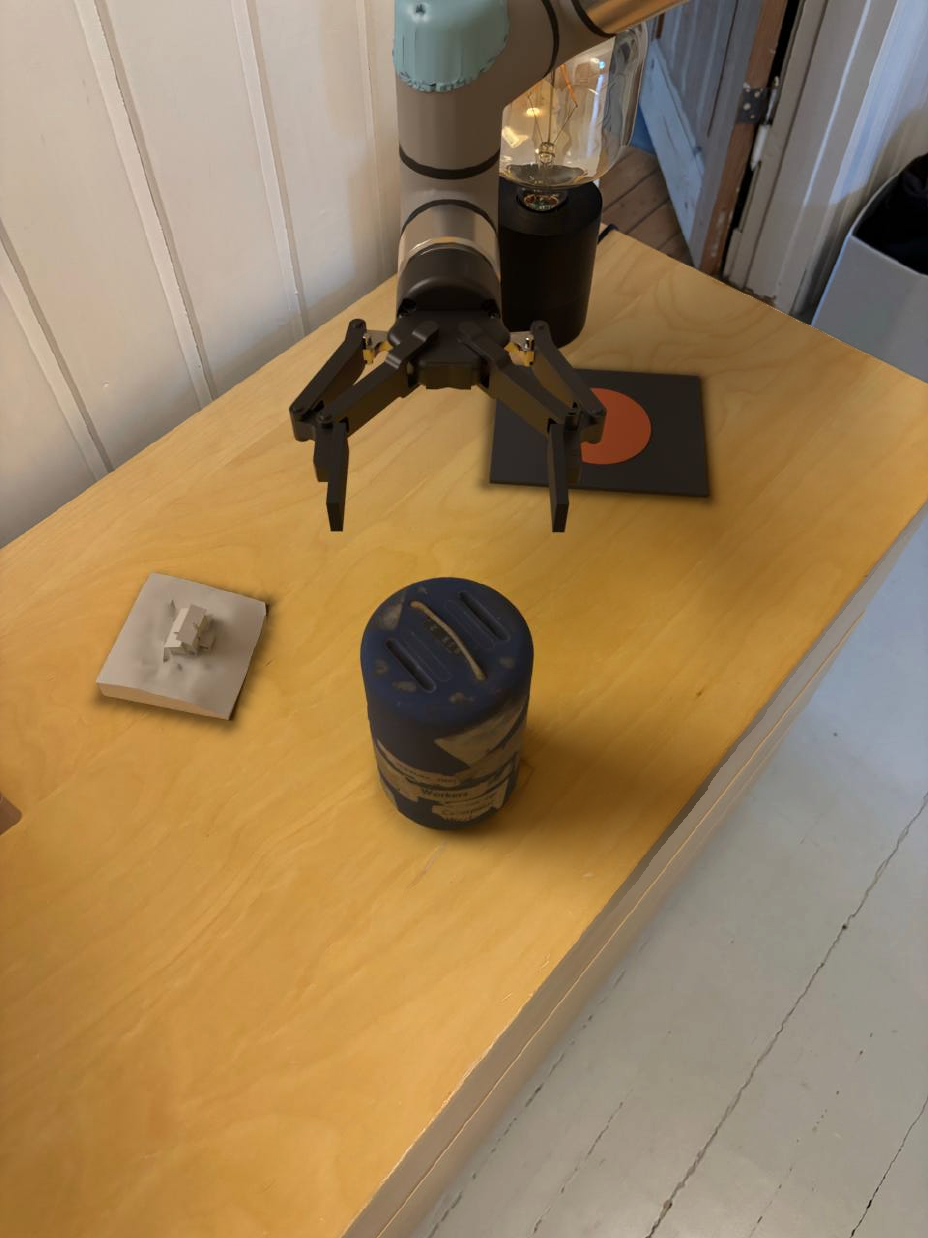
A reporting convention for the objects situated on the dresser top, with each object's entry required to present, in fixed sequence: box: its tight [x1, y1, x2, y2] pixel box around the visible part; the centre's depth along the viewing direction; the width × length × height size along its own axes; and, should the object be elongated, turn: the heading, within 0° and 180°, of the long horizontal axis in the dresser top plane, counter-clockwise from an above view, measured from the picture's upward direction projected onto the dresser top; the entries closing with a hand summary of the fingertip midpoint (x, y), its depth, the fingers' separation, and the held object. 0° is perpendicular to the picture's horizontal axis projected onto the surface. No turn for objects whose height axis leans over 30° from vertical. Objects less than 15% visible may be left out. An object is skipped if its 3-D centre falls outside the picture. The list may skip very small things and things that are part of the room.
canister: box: [359, 576, 535, 831], centre depth 56 cm, size 10×10×18 cm
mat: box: [488, 364, 709, 498], centre depth 81 cm, size 18×14×1 cm
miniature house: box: [94, 571, 267, 721], centre depth 67 cm, size 12×11×4 cm
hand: (447, 518), depth 56 cm, fingers open, 13 cm apart
